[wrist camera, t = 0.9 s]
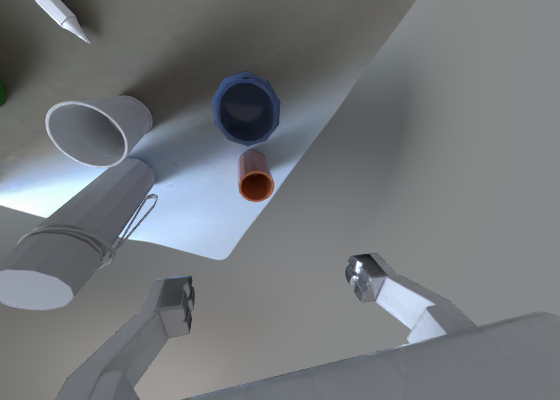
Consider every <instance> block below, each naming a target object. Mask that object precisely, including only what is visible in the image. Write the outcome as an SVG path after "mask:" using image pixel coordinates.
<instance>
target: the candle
mask: <svg viewBox="0 0 560 400" xmlns="http://www.w3.org/2000/svg"><path fill="white" fill-rule="evenodd" d="M5 98H6V97H5V90H4V87H3V85H2V83H1V81H0V107H1V106H2V105H3V103H4V102H5Z"/></svg>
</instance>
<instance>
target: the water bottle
mask: <svg viewBox="0 0 560 400" xmlns="http://www.w3.org/2000/svg"><path fill="white" fill-rule="evenodd" d="M154 184H155V173H154V172H153V170H152V169H151V167H150V166H149V165H147V164H146V163H144V162H143V161H141V160H138V159H133V158H125V159H124V160H123V161H122V162H121V163H120V164H118V165H116V166H113V167H110V168H108V169H107V170H106V171H105V172H103V173H102V174H101V175H100V176H98V177H97V178H96V179H95V180H94V181H92V182H91V183H90V184H89V185H87V186H86V187H85V188H84V189H83V190H81V191H80V192H79V193H78V194H76V195H75V196H74V197H73V198H71V199H70V200H69V201H68V202H67V203H65V204H64V205H63V206H62V207H60V208H59V209H58V210H57V211H56V212H54V213H53V214H52V215H51V216H49V217H48V218H47V219H46V220H45V221H43V222H42V223H41V224H40V225H39V226H37V227H36V228H35V229H34V230H33V231H31V232H29V233H27V234H26V235H24V236H23V237H22V238H21V239H20V241H19V242H18V244H17V245H16V247H14V249H12V250H11V252H10V253H9V254H8V255H7V256H6V257H5V258H4V259H3V260H2V261H1V262H0V302H1V303H3V304H5V305H8V306H13V307H17V308H22V309H27V310H51V309H55V308H58V307H62V306H66V305H67V304H68V303H69V302H70V301H71V300H72V299H73V298H74V296H75V295H76V294H77V293H78V292H79V290H80V289H81V288H82V287H83V286H84V285H85V283H86V282H87V281H88V280H89V279H90V277H91V276H92V275H93V274H94V272H95V271H96V270H98V269H100V268H103V267H105V266H107V265H108V264H109V263H112V262H113V260H114V257H115V254H116V251H117V250H118V249H119V248H120V246H121V245H122V244H123V243H124V242H125V241H126V239H127V238H128V237H129V236H130V235H131V234H132V232H133V231H134V230H135V229H136V228H137V227H138V225H139V224H140V223H141V222H142V221H143V220H144V218H145V217H146V216H147V215H148V214H149V213H150V211H151V210H152V209H153V208H154V206H155V204H156V201H157V198H158V196H157V195H155V194H151V195H148V196H147V197H146V195H147V194H148V193H149V191H150V190H151V188H152V187H153V185H154ZM145 197H146V198H145ZM144 198H145V200H144ZM150 198H155V203H154V205H153V206H152V207H151V208H150V210H149V211H148V212H147V213H146V214H145V215H144V217H143V218H142V219H141V220H140V221H139V223H138V224H137V225H136V226H135V227H134V228H133V230H132V231H131V232H130V233H129V234H128V235H127V237H126V238H125V239H124V240H123V241H122V239H123V238H124V236H125V234H126V233H127V231H128V229H129V228H130V226H131V224H132V223H133V221H134V220H135V218H136V216H137V215H138V213H139V211H140V210H141V208H142V206H143V205H144V203H145V201H146V200H147V199H150ZM143 200H144V201H143ZM142 201H143V203H142ZM141 203H142V204H141ZM140 204H141V206H140ZM139 206H140V208H139V209H138V207H139ZM137 209H138V211H137V213H136V215H135V216H134V218H133V220H132V221H131V223H130V225H129V226H128V228H127V230H126V231H125V233H124V235H123V236H122V238H121V240H120V241H119V243H118V245H117V247H116V248H114V249H113V248H112V245H113V244H114V242H115V241H116V239H117V238H118V236H119V235H120V233H121V232H122V230H123V229H124V228H125V226H126V225H127V223H128V222H129V220H130V219H131V217H132V216H133V214H134V213H135V212H136V210H137ZM121 241H122V242H121ZM120 242H121V244H120ZM119 244H120V245H119ZM108 251H110V255H109V257H108V260H107V262H106V263H105V264H103V265H101V262H102V261H103V257H104V256H105V255H106V254H107V252H108ZM100 265H101V266H100Z"/></svg>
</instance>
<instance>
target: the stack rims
mask: <svg viewBox="0 0 560 400" xmlns="http://www.w3.org/2000/svg"><path fill="white" fill-rule="evenodd" d="M238 78H251V79H253V80H256V81H258V82H260V83H262V84H264V85H265V87H266V88H267V89H268V90H269V91H270V92H271V93H272V94H273V96H274V99H275V101H276V104H277V107H278V120H277V122H276V125H275V128H274V130H275V129H276V128H277V126H278V125H279V115H280V101H279V99H278V97H277V95H276V94H275V92H274V90H273V88H272V87H271V85H270V83H269V82H268V81H267V80H265V79H263V78H261V77H258V76H256V75H254V74H252V73H249V72H247V71H244V72H240V73H237V74H234V75H231V76H227V77H225V78H224V79H223V81H222V82H221V84H220V86H219V88H218V89H217V91H216V93H215V94H214V96H213V98H212V106H213V115H214V122H215V124H216V125H217V126H218V128H219V129H220V130H221V131H222V133H223V134H224V135H225V136H226V137H227V139H229V140H230V141H233V140H232V139H231V138H230V137H228V136H227V135H226V134H225V133H224V132H223V130H222V128H221V127H220V125H219V123H218V121H217V115H216V104H217V99H218V96H219V94H220V93H221V91H222V90H223V89H224V87H225V86H226V85H227V83H230V82H232V81H234V80H236V79H238ZM274 130H273V131H274ZM272 133H273V132H272ZM272 133H271V134H272ZM271 134H270V135H271ZM270 135H269V136H268V137H267V138H266V139H265V140H263V141H266V140H267V139H268V138H269V137H270ZM263 141H260V142H263ZM234 142H236V141H234ZM260 142H258V143H260ZM237 143H239V142H237ZM240 144H242V143H240ZM256 144H257V143H256ZM243 145H246V146H250V145H253V144H243Z"/></svg>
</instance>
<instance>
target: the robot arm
mask: <svg viewBox="0 0 560 400" xmlns="http://www.w3.org/2000/svg"><path fill="white" fill-rule="evenodd" d="M348 262H349V263H350V264H349V265H348V266H347V267H346V271H345V273H346V278H347V281H348V283H349V284H350V285H351V286H353V287H354V292H355V294H356V295H357V297H358V299H359V300H360V302H361V303H364V302H370V301H376V302H377V303H378V304H379V305H380V306H382V307H383V308H384V309H386V310H387V311H388V312H390V313H391V314H392V315H393V316H395V317H396V318H397V319H398V320H400V321H401V322H402V323H403V324H405V325H406V326H407V327H409V328H410V329H411V332H410V333H409V335H408V337H407V340H408V341H409V344H405V345H401V346H397V347H393V348H388V349H384V350H380V351H376V352H372V353H368V354H364V355H360V356H357V357H352V358H348V359H344V360H340V361H336V362H332V363H328V364H324V365H320V366H316V367H311V368H307V369H303V370H299V371H296V372H291V373H287V374H283V375H279V376H275V377H271V378H267V379H263V380H259V381H255V382H251V383H247V384H243V385H239V386H235V387H230V388H226V389H222V390H218V391H215V392H210V393H206V394H203V395H198V396H194V397H190V398H186V399H182V400H560V317H559V316H556V315H554V314H551V313H548V312H534V313H530V314H526V315H522V316H518V317H514V318H510V319H506V320H502V321H498V322H494V323H490V324H486V325H482V326H478V327H477V326H476V325H475V324H474V323H473V322H472V321H471V320H470V319H469V318H468V317H467V316H466V315H465V314H464V313H462V311H461V310H459V309H458V308H457V307H456V306H455V305H454V304H453V303H452V302H451V301H449V300H448V299H445V298H444V297H442V296H440V295H438V294H436V293H434V292H432V291H430V290H428V289H426V288H425V287H423V286H421V285H419V284H417V283H415V282H413V281H411V280H409V279H408V278H406V277H404V276H402V275H397V274H396V273H395V271H394V270H393V269H392V268H391V267H390V266H389V265H388V264H387V263H386V262H385V261H384V259H383V258H382V257H381V256H380V255H379V254H377V253H369V254H361V255H354V256H351V257H350V258H349V261H348ZM194 301H195V292H194V288H193V287H192V277H191V276H180V277H169V278H161V279H154V280H153V281H152V282H151V285H150V287H149V290H148V292H147V295H146V297H145V300H144V302H143V305H142V307H141V310H140V312H139V315H134V316H133V317H132V318H131V319H130V320H129V321H128V322H127V323H126V324H124V325H123V326H122V327H121V328H120V329H119V330H118V331H117V332H116V333H115V334H114V335H113V336H112V337H111V338H109V339H108V340H107V341H106V342H105V343H104V344H103V345H102V346H101V347H100V348H99V349H98V350H97V351H96V352H94V353H93V354H92V355H91V356H90V357H89V358H88V359H87V360H86V361H85V362H84V363H83V364H82V365H81V366H79V367H78V368H77V369H76V370H75V371H74V372H73V373H72V374H71V375H70V376H69V377H68V378H67V379H66V381H65V383H64V385H63V386H62V388H61V390H60V392H59V393H58V395H57V397H56V399H55V400H140V399H139V397H138V396H137V394H136V392H135V391H134V389H133V388H134V386H135V385H136V384H137V382H138V381H139V380H140V378H141V377H142V375H143V374H144V373H145V371H146V370H147V368H148V367H149V365H150V364H151V362H152V361H153V360H154V358H155V357H156V356H157V354H158V353H159V352H160V350H161V349H162V347H163V346H164V344H165V343H166V342H167V340H168V338H173V337H177V336H182V335H187V334H190V328H191V322H192V317H191V311H192V310H193V309H194Z"/></svg>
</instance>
